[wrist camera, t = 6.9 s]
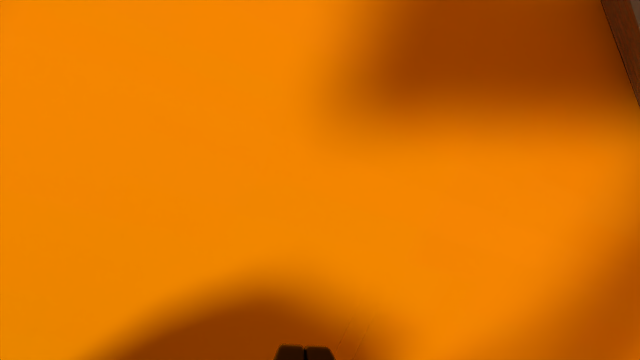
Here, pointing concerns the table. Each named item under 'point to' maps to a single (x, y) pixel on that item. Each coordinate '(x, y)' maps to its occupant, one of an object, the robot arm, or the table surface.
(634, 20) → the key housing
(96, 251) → the table surface
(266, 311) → the table surface
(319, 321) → the table surface
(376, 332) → the table surface
